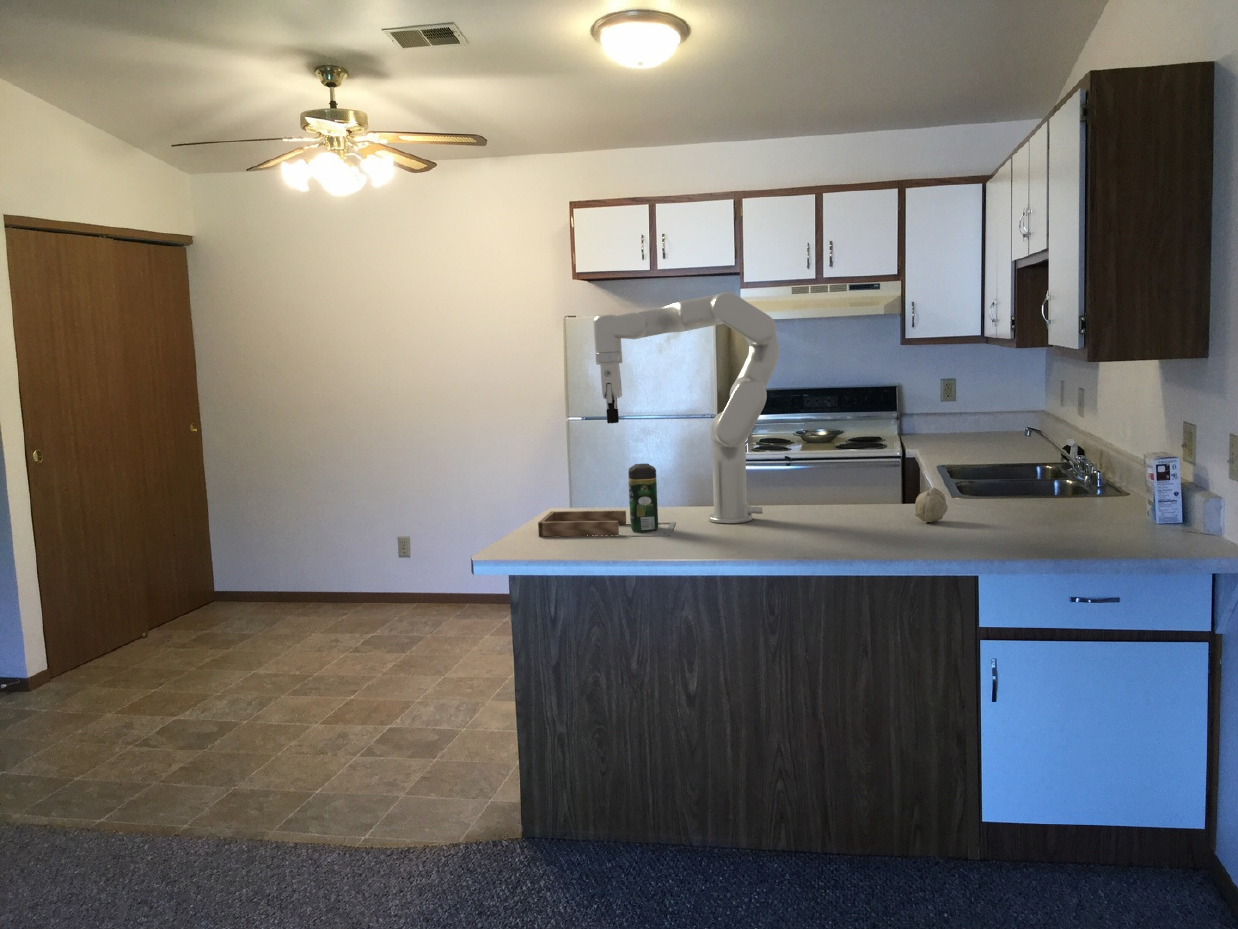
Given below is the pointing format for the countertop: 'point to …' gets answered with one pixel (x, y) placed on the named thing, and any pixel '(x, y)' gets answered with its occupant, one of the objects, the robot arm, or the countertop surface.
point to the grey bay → (668, 533)
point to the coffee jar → (643, 498)
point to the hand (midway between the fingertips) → (613, 422)
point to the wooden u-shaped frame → (581, 523)
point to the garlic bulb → (931, 505)
